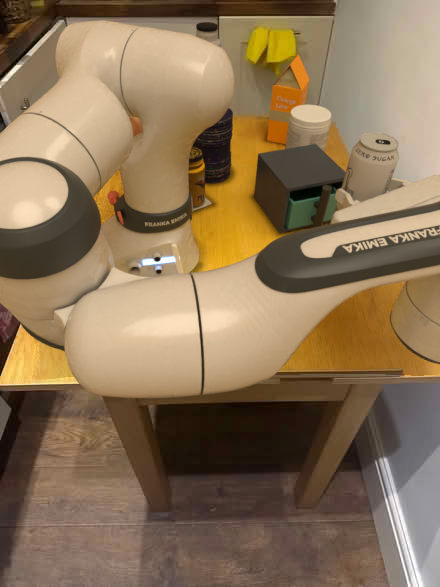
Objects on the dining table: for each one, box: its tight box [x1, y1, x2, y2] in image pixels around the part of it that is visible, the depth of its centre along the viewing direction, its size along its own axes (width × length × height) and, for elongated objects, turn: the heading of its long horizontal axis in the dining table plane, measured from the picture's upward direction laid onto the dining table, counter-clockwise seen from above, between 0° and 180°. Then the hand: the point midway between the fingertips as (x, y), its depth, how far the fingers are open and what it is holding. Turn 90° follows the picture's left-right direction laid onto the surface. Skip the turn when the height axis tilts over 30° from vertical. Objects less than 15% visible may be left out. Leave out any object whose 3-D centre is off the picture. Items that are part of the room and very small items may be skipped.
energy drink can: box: [334, 131, 400, 213], centre depth 57 cm, size 6×6×15 cm
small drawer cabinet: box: [253, 144, 346, 234], centre depth 88 cm, size 14×14×11 cm
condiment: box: [189, 147, 213, 211], centre depth 88 cm, size 7×8×12 cm
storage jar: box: [192, 107, 234, 185], centre depth 96 cm, size 10×10×15 cm
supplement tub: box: [284, 104, 332, 153], centre depth 98 cm, size 10×10×15 cm
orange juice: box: [266, 53, 310, 145], centre depth 108 cm, size 8×9×20 cm
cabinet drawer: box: [285, 183, 337, 229], centre depth 86 cm, size 16×11×10 cm
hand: (359, 185), depth 58 cm, fingers closed on energy drink can, 6 cm apart
